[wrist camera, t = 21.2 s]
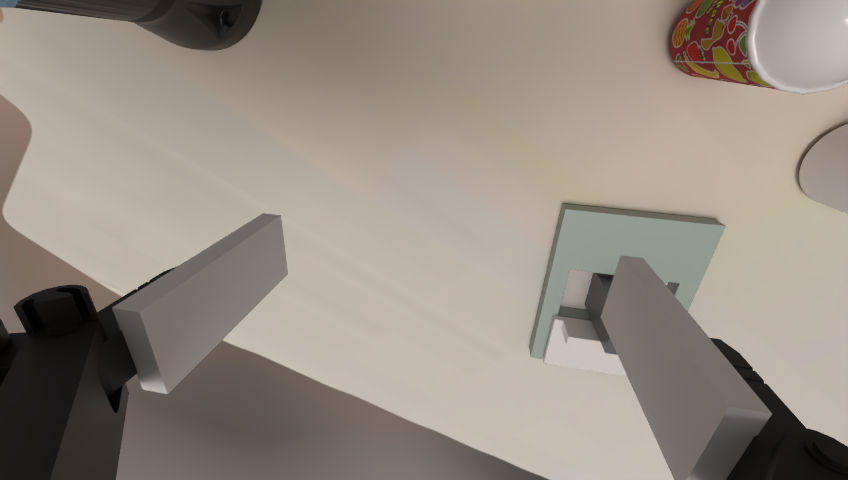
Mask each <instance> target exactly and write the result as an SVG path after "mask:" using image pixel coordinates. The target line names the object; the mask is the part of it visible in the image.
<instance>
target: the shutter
mask: <svg viewBox="0 0 848 480" xmlns="http://www.w3.org/2000/svg"><path fill="white" fill-rule="evenodd" d="M543 362H544V363H546V364H553V365H559V366H565V367H572V368H578V369H585V370H591V371H597V372H604V373H610V374H617V375H623V376H627V374H626V372H625V370H624V368H623V365H622V363H621V361H620V359H619V357H618V355H615V354H608V353H605V352H604V349H603V347H602V344H601V342H600V340H599V337H598V335H597V332H596V330H595V327H594V325H593V323H592V321H590V320H583V319H575V318H568V317H561V316H554V318H553V321H552V325H551V329H550V333H549V337H548V341H547V345H546V349H545V353H544V357H543Z"/></svg>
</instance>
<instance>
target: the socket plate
mask: <svg viewBox="0 0 848 480" xmlns="http://www.w3.org/2000/svg"><path fill="white" fill-rule="evenodd" d="M725 227H726V226H725V225H724V224H722V223H720V222H719V221H717V220H716V219H710V218H700V217H691V216H681V215H671V214H661V213H652V212H642V211H632V210H622V209H613V208H603V207H593V206H583V205H574V204H564V203H562V207H561V211H560V216H559V220H558V224H557V229H556V233H555V237H554V242H553V246H552V250H551V255H550V259H549V263H548V268H547V272H546V276H545V281H544V285H543V289H542V294H541V298H540V302H539V307H538V311H537V315H536V320H535V324H534V328H533V333H532V337H531V341H530V346H529V349H530V356H531V357H533V358H539V359H543V357H544V353H545V349H546V345H547V341H548V337H549V333H550V329H551V325H552V321H553V318H554V316H561V317H568V318H575V319H583V320H590V321H592V320H591V318H590V315H589V313H588V310H583V309H575V308H568V307H561V306H560V304H561V300H562V297H563V293H564V289H565V285H566V281H567V277H568V274H569V270H577V271H585V272H593V273H601V274H609V275H614V274H615V271H616V268H617V265H618V262H619V259H620V255H623V256H631V257H640V258H643V259H644V260H645V261H646V262H647V263H648V265H649V266H650V267H651V268H652V269H653V271H654V272H655V273H656V274H657V275H658V277H659V278H660V279H661V280H662V281H666V282H669V283H668V286H667V287H668V289H669V290H670V291H671V292H672V293H673V295H674V296H675V297H676V298H677V300H678V301H679V302H680V303H681V304H682V306H683V307H684V308H685V309H686V310H687V312H688V310H689V307H690V305H691V303H692V301H693V299H694V296H695V294H696V292H697V290H698V287H699V285H700V283H701V281H702V278H703V276H704V274H705V272H706V269H707V267H708V265H709V263H710V260H711V258H712V256H713V254H714V252H715V249H716V247H717V245H718V243H719V240H720V238H721V236H722V234H723V231H724V229H725Z"/></svg>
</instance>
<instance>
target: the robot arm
mask: <svg viewBox="0 0 848 480" xmlns="http://www.w3.org/2000/svg"><path fill="white" fill-rule="evenodd" d="M260 5H261V0H0V7H11V8H12V7H13V8H22V9H30V10H38V11H47V12H55V13H63V14H71V15H80V16H88V17H96V18H104V19H113V20H121V21H129V22H133V23H135V24H137V25H139V26H141V27H143V28H145V29H147V30H148V31H150V32H152V33H154V34H156V35H158V36H160V37H161V38H163V39H165V40H167V41H169V42H171V43H173V44H176V45H179V46H182V47H185V48H190V49H198V50H221V49H225V48H228V47H230V46H232V45H234V44H236V43H237V42H239V41H240V40H241V39H242V38H243V37H244V36H245V35H246V34H247V33H248V32H249V30H250V29H251V27H252V25H253V24H254V22H255V20H256V17H257V15H258V12H259V9H260ZM287 274H288V270H287V262H286V254H285V246H284V238H283V230H282V221H281V215H273V214H264V213H263V214H261V215H260V216H258V217H257V218H255V219H253V220H252V221H250V222H249V223H247V224H245V225H244V226H242V227H241V228H239V229H237V230H236V231H234V232H233V233H231V234H229V235H228V236H226V237H225V238H223V239H221V240H220V241H218V242H217V243H215V244H213V245H212V246H210V247H208V248H207V249H205V250H204V251H202V252H200V253H199V254H197V255H196V256H194V257H192V258H191V259H189V260H188V261H186V262H184V263H183V264H181V265H180V266H178V267H175V268H172V269H170V270H167V271H164V272H162V273H161V274H159V275H158V276H156V277H154V278H153V279H151V280H150V281H149V282H146V283H145V284H143V285H141V286H140V287H138V289H137V290H136V289H135V290H133V291H131V292H130V293H128V294H127V295H125V296H123V297H122V298H120V299H119V300H117V301H115V302H113V303H112V304H110V305H109V306H107V307H105V308H104V309H102V310H100V311H99V312H97V311H96V309H95V306H94V304H93V301H92V299H91V296H90V294H89V291H88V289H87V288H86V287H83V286H81V285H80V286H79V285H66V286H58V287H54V288H50V289H45V290H42V291H40V292H37V293H34V294H32V295H30V296H28V297H26V298H24V299H22V300H21V301H19V302H18V303H17V304H16V305H15V306H14V309H15V311H16V313H17V315H18V317H19V319H20V321H21V323H22V325H23V327H24V329H25V330H26V333H10V334H9V333H8V331H7V329H6V328H5V326H4V324H3V322H2V320H1V319H0V480H116V474H117V467H118V461H119V454H120V448H121V441H122V434H123V428H124V421H125V415H126V408H127V401H128V395H129V392H128V388H127V385H126V382H127V381H128V380H130V379H131V378H132V377H133V376H134V375H135V374H137V375H138V378H139V380H140V383H141V386H142V388H143V390H149V391H153V392H159V393H164V394H168V393H169V392H170V391H171V390H172V389H173V388H174V387H175V386H176V385H177V384H178V383H179V382H180V381H181V380H182V379H183V378H184V377H185V376H186V375H187V374H188V373H189V372H190V371H191V370H192V369H193V368H194V367H195V366H196V365H197V364H198V363H199V362H200V361H201V360H202V359H203V358H204V357H205V356H206V355H207V354H208V353H209V352H210V351H211V350H212V349H213V348H214V347H215V346H216V345H217V344H218V343H219V342H220V341H221V340H222V339H223V338H224V337H225V336H226V335H227V334H228V333H229V332H230V331H231V330H232V329H233V328H234V327H235V326H236V325H237V324H238V323H239V322H240V321H241V320H242V319H243V318H244V317H245V316H246V315H247V314H248V313H249V312H250V311H251V310H252V309H253V308H254V307H255V306H256V305H257V304H258V303H259V302H260V301H261V300H262V299H263V298H264V297H265V296H266V295H267V294H268V293H269V292H270V291H271V290H272V289H273V288H274V287H275V286H276V285H277V284H278V283H279V282H280V281H281V280H282V279H283V278H284V277H285V276H286V275H287ZM601 319H602V321H603V324H604V326H605V328H606V330H607V332H608V335H609V337H610V339H611V341H612V343H613V346H614V348H615V350H616V352H617V354H618V357H619V359H620V361H621V363H622V365H623V368H624V370H625V372H626V374H627V376H628V379H629V381H630V383H631V385H632V387H633V390H634V392H635V394H636V396H637V398H638V401H639V403H640V405H641V407H642V409H643V412H644V414H645V416H646V418H647V420H648V423H649V425H650V427H651V429H652V431H653V434H654V436H655V438H656V440H657V442H658V445H659V447H660V449H661V451H662V453H663V456H664V458H665V460H666V462H667V464H668V467H669V469H670V471H671V473H672V475H673V478H674V480H848V447H847V446H845V445H844V444H842V443H840V442H839V441H837V440H835V439H834V438H832V437H829V436H827V435H825V434H822V433H820V432H818V431H815V430H811V429H806V428H805V426H804V425H803V424H802V423H801V422H800V421H799V420H798V419H797V417H796V416H795V415H794V414H793V413H792V412H791V411H790V410H789V408H788V407H787V406H786V405H785V404H784V403H783V402H782V401H781V399H780V398H779V397H778V396H777V395H776V394H775V393H774V392H773V390H772V389H771V388H770V387H769V386H768V385H767V384H764V380H763V379H762V378H761V377H760V376H759V375H758V374H757V373H756V371H753V370H752V369H753V368H752V367H751V366H750V365H749V364H748V362H747V361H746V360H745V359H744V358H743V357H742V356H741V355H740V353H738V352H737V351H736V350H734V349H733V348H731V347H730V346H729V345H727V344H726V343H724V342H723V341H722V340H720V339H714V338H709V337H708V336H707V335H706V333H705V332H704V331H703V330H702V328H701V327H700V326H699V325H698V324H697V322H696V321H695V320H694V319H693V318H692V316H691V315H690V314H689V313H688V312H687V310H686V309H685V308H684V307H683V306H682V304H681V303H680V302H679V301H678V300H677V298H676V297H675V296H674V295H673V293H672V292H671V291H670V290H669V289H668V287H667V286H666V285H665V284H664V283H663V281H662V280H661V279H660V278H659V277H658V275H657V274H656V273H655V272H654V271H653V269H652V268H651V267H650V266H649V265H648V263H647V262H646V261H645V260H644V259H643V258H640V257H631V256H623V255H620V259H619V262H618V265H617V268H616V271H615V274H614V277H613V280H612V283H611V286H610V289H609V293H608V296H607V299H606V302H605V305H604V308H603V311H602V314H601Z"/></svg>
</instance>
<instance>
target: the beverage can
mask: <svg viewBox="0 0 848 480" xmlns="http://www.w3.org/2000/svg"><path fill="white" fill-rule="evenodd" d="M799 182H800V186H801V188H802V190H803V191H804V193H805V194H806V195H807V196H808V197H809V198H811V199H813V200H815V201H817V202H819V203H822V204H824V205H827V206H829V207H832V208H834V209H837V210H840V211H842V212H845V213H847V214H848V124H846V125H843V126H841V127H839V128H837V129H835V130H833V131H831V132H830V133H828V134H827V135H825V136H824V137H822V138H821V139H820V140H819V141H818V142H817V143H816V144H815V145H814V146H813V147H812V148H811V149H810V150H809V152H808V153H807V154H806V156H805V158H804V160H803V162H802V164H801V167H800V171H799Z"/></svg>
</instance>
